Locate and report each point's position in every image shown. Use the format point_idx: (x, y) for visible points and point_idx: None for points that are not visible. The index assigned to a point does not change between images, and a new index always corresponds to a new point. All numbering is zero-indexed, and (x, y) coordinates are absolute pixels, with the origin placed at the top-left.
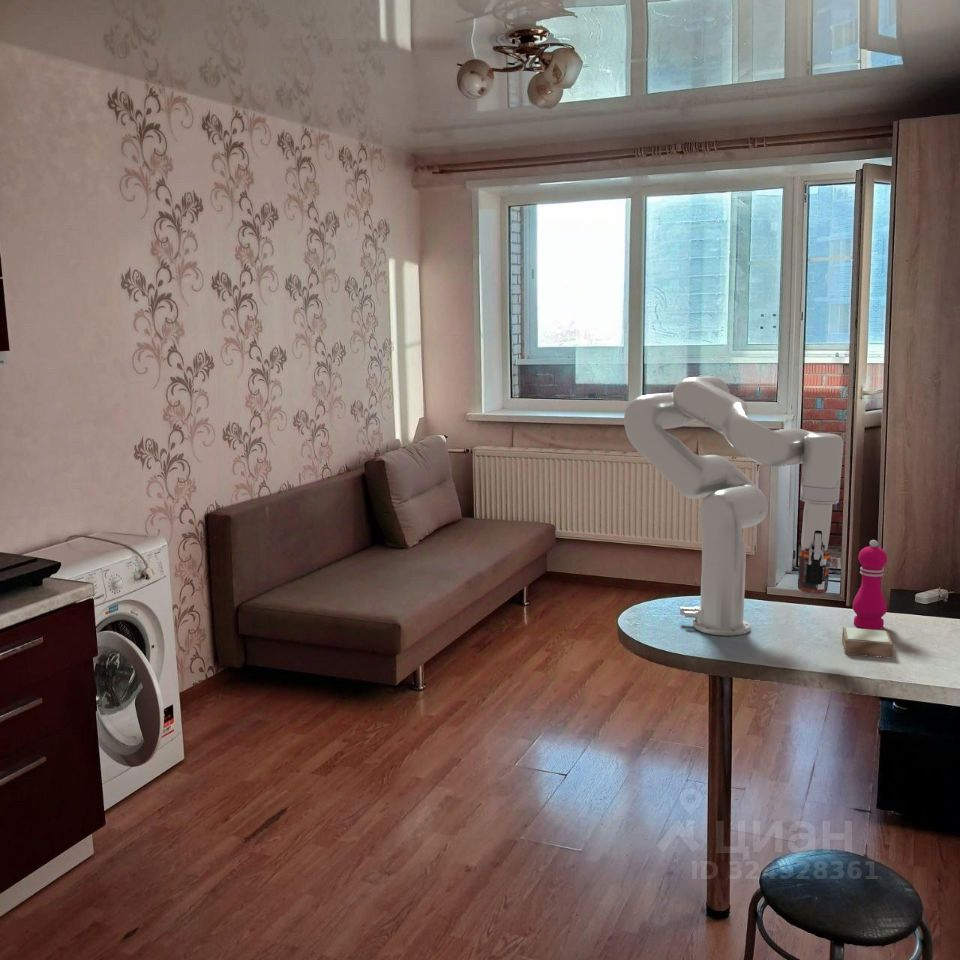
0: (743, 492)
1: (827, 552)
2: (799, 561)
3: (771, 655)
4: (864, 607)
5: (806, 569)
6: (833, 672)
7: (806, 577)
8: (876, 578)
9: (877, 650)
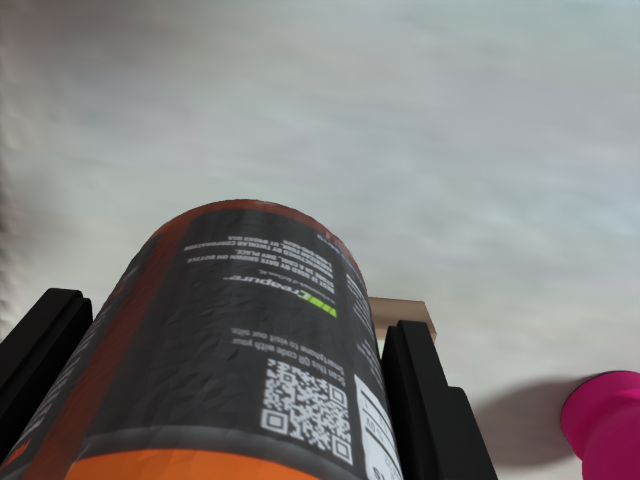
0: None
1: None
2: (213, 356)
3: None
4: (613, 456)
5: (4, 377)
6: (14, 213)
7: (24, 319)
8: None
9: None
